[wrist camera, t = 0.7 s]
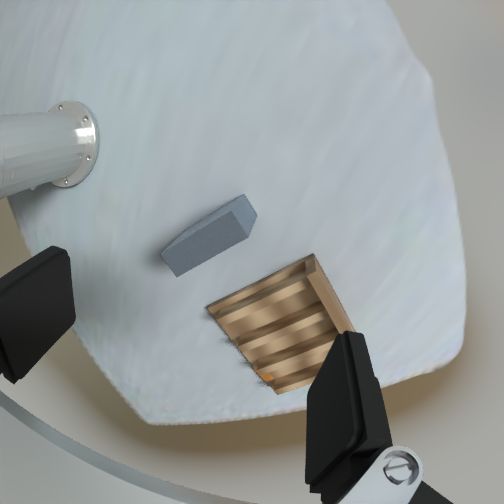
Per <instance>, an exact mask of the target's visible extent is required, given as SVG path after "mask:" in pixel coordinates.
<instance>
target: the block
mask: <svg viewBox="0 0 504 504" xmlns="http://www.w3.org/2000/svg"><path fill="white" fill-rule="evenodd" d="M256 218H257V213H256V212H255V210H254V209H253V207H252V205H251V204H250V202H249V201H248V199H247V198H246V196H245V194H243V195H241V196H240V197H238V198H236V199H235V200H233V201H231V202H230V203H228V204H226V205H225V206H223V207H221V208H220V209H218V210H217V211H215V212H213V213H212V214H210V215H208V216H207V217H205V218H204V219H202V220H200V221H199V222H197V223H196V224H194V225H192V226H191V227H189V228H188V229H186V230H185V231H184V232H183V233H182V234H180V235H179V236H178V237H177V238H176V239H175V240H174V241H173V242H172V243H171V244H170V245H169V246H168V247H167V248H166V249H165V250H164V251H163V252H162V253H161V254H160V255H161V256H162V257H163V259H164V260H165V262H166V263H167V265H168V266H169V267H170V269H171V270H172V272H173V273H174V274H175V276H176V277H178V276H180V275H182V274H184V273H185V272H187V271H189V270H191V269H192V268H194V267H196V266H198V265H200V264H201V263H203V262H205V261H207V260H208V259H210V258H212V257H214V256H216V255H217V254H219V253H221V252H223V251H225V250H226V249H228V248H230V247H232V246H234V245H235V244H237V243H239V242H241V241H243V240H244V239H246V238H248V237H249V235H250V232H251V230H252V227H253V225H254V223H255V220H256Z"/></svg>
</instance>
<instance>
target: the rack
mask: <svg viewBox="0 0 504 504" xmlns="http://www.w3.org/2000/svg"><path fill="white" fill-rule="evenodd" d="M208 310H209V311H210V313H211V314H212V315H213V316H214V318H215V319H216V321H217V322H218V323H219V325H220V326H221V327H222V328H223V329H224V331H225V332H226V333H227V334H228V336H229V337H230V338H231V339H232V341H233V342H234V343H235V344H236V346H237V347H238V349H239V350H240V351H241V352H242V353H243V354H244V356H245V357H246V358H247V359H248V360H249V362H250V363H251V364H252V365H253V369H254V370H255V371H256V372H257V373H258V374H259V376H260V377H261V378H262V379H263V380H264V382H265V381H266V382H267V383H268V384H269V385H270V387H271V388H272V389H274V390H273V391H274V392H275V393H276V394H277V395H279V394H282V393H285V392H288V391H291V390H294V389H297V388H300V387H303V386H306V385H309V384H311V383H313V381H314V379H315V377H316V375H317V373H318V372H319V370H320V368H321V366H322V364H323V362H324V360H325V358H326V356H327V354H328V352H329V350H330V348H331V346H332V344H333V342H334V340H335V338H336V336H337V335H338V334H339V333H340V334H343V332H344V331H346V330H348V331H353V332H356V331H355V329H354V328H353V326H352V324H351V322H350V320H349V318H348V316H347V314H346V312H345V310H344V308H343V306H342V305H341V303H340V301H339V299H338V297H337V295H336V293H335V291H334V290H333V288H332V286H331V284H330V282H329V280H328V278H327V277H326V275H325V273H324V271H323V269H322V268H321V266H320V264H319V262H318V260H317V259H316V257H315V255H314V253H313V254H311V255H309V256H307V257H305V258H303V259H301V260H299V261H297V262H295V263H293V264H291V265H289V266H287V267H285V268H283V269H281V270H279V271H277V272H275V273H273V274H271V275H269V276H267V277H265V278H263V279H261V280H259V281H257V282H255V283H253V284H251V285H249V286H247V287H245V288H243V289H241V290H239V291H237V292H235V293H233V294H231V295H229V296H227V297H225V298H222V299H220V300H218V301H216V302H214V303H212V304H210V305H209V307H208Z"/></svg>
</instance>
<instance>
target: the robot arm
mask: <svg viewBox="0 0 504 504" xmlns="http://www.w3.org/2000/svg"><path fill="white" fill-rule="evenodd" d="M98 147H99V134H98V127H97V124H96V121H95V118H94V116H93V114H92V113H91V112H90V110H89V109H88V108H87V107H86V106H84V105H83V104H81V103H79V102H75V101H64V102H61V103H58V104H57V105H55V106H54V107H52V108H51V109H50V110H49V111H48V112H43V113H26V114H13V115H3V116H0V199H2V198H4V197H7V196H10V195H13V194H15V193H18V192H21V191H24V190H26V189H29V188H30V189H31V190H34V189H35V188H36V187H37V186H38V185H41V184H44V183H47V182H51V183H52V184H54V185H56V186H59V187H69V186H73V185H75V184H78V183H79V182H81V181H82V180H83V179H84V178H85V177H86V176H87V175H88V174H89V172H90V171H91V169H92V167H93V165H94V163H95V160H96V157H97V154H98ZM75 318H76V314H75V306H74V298H73V289H72V279H71V266H70V257H69V256H68V253H67V251H66V250H65V249H62V248H59V247H56V246H50V247H49V248H47V249H45V250H44V251H42V252H40V253H39V254H37V255H35V256H34V257H32V258H31V259H29V260H27V261H26V262H24V263H23V264H21V265H20V266H18V267H16V268H15V269H13V270H12V271H10V272H9V273H7V274H6V275H4V276H3V277H1V278H0V374H1V373H3V375H4V377H5V378H6V379H7V380H9V381H10V382H11V383H13V384H15V383H16V382H17V381H18V380H19V379H22V378H23V377H24V376H25V375H26V374H27V373H28V372H29V370H30V369H31V368H32V367H33V366H34V365H35V364H36V363H37V362H38V361H39V360H40V359H41V357H42V356H43V355H44V354H45V353H46V352H47V351H48V350H49V349H50V348H51V347H52V345H54V343H55V342H56V341H57V340H58V339H59V338H60V337H61V336H62V335H63V334H64V333H65V332H66V331H67V330H68V329H69V328H70V327H71V326H72V325H73V324H74V322H75ZM306 432H307V434H306V466H305V483H306V484H310V493H321V501H322V502H323V503H322V504H453V503H452V502H450V501H449V500H448V499H446V498H445V497H443V496H442V495H440V494H439V493H438V492H436V491H435V490H434V489H433V488H431V487H430V486H429V485H427V484H426V483H425V482H423V481H422V477H423V474H424V467H423V464H422V461H421V460H420V458H419V456H418V455H417V454H416V453H414V451H412V450H410V449H409V448H407V447H403V446H393V444H392V439H391V434H390V429H389V424H388V419H387V415H386V410H385V406H384V401H383V397H382V394H381V389H380V385H379V381H378V379H377V378H376V377H375V376H374V372H373V368H372V364H371V360H370V356H369V353H368V349H367V345H366V342H365V338H364V335H363V334H362V333H357V332H353V331H348V330H346V331H344V332H343V334H340V333H339V334H338V335H337V336H336V338H335V340H334V342H333V344H332V346H331V348H330V350H329V352H328V354H327V356H326V358H325V360H324V362H323V364H322V366H321V368H320V370H319V372H318V373H317V375H316V377H315V379H314V381H313V383H312V385H311V386H310V388H309V391H308V394H307V431H306ZM0 504H256V503H250V502H245V501H240V500H235V499H230V498H226V497H221V496H217V495H213V494H209V493H205V492H201V491H197V490H194V489H190V488H187V487H184V486H180V485H177V484H174V483H171V482H168V481H165V480H162V479H159V478H156V477H154V476H151V475H148V474H145V473H143V472H140V471H138V470H136V469H133V468H131V467H128V466H126V465H124V464H121V463H119V462H117V461H114V460H112V459H110V458H108V457H106V456H104V455H102V454H100V453H98V452H96V451H93V450H92V449H90V448H88V447H86V446H84V445H82V444H80V443H78V442H77V441H74V440H73V439H71V438H69V437H67V436H66V435H64V434H62V433H61V432H59V431H57V430H56V429H54V428H52V427H51V426H49V425H48V424H46V423H45V422H43V421H42V420H40V419H38V418H37V417H35V416H34V415H33V414H31V413H29V412H28V411H27V410H25V409H24V408H23V407H21V406H20V405H18V404H17V403H16V402H14V401H13V400H12V399H10V398H9V397H7V396H6V395H5V394H4V393H3V392H1V391H0Z"/></svg>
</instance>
